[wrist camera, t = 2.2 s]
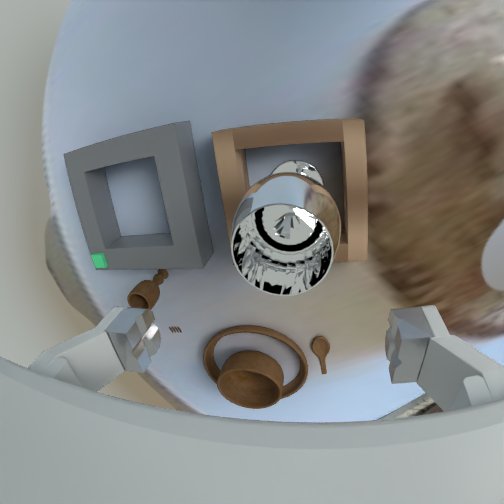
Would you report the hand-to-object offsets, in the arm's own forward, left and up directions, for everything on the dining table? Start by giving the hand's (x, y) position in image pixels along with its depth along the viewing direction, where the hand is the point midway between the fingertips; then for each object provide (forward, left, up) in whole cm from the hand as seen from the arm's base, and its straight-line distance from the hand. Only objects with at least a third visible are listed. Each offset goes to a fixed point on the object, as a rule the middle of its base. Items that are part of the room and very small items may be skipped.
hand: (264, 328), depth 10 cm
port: (-1, -14, -17) cm, 22 cm away
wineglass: (0, 0, -17) cm, 17 cm away
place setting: (+15, -6, -17) cm, 24 cm away
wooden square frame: (0, 0, -17) cm, 17 cm away
